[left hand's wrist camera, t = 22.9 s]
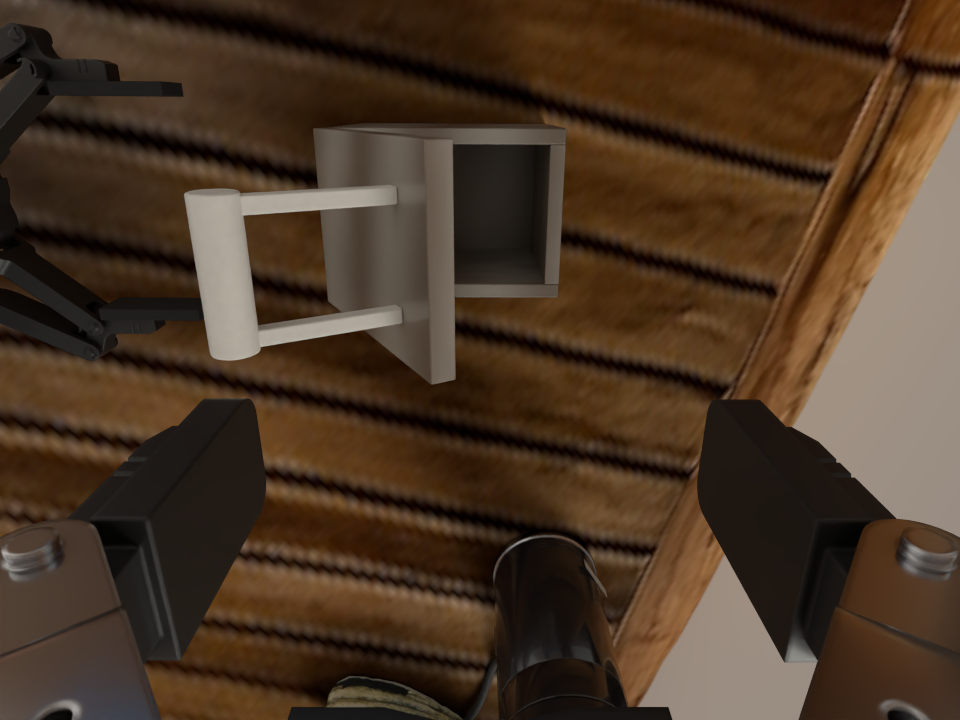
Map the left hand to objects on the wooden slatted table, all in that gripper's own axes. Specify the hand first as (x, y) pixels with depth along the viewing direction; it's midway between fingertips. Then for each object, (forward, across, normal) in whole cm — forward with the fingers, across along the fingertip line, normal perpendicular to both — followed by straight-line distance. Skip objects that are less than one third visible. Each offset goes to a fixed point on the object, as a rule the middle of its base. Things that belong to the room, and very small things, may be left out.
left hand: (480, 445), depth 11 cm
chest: (+37, +2, 0) cm, 37 cm away
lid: (+20, +4, 0) cm, 21 cm away
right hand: (+31, +18, 0) cm, 36 cm away
